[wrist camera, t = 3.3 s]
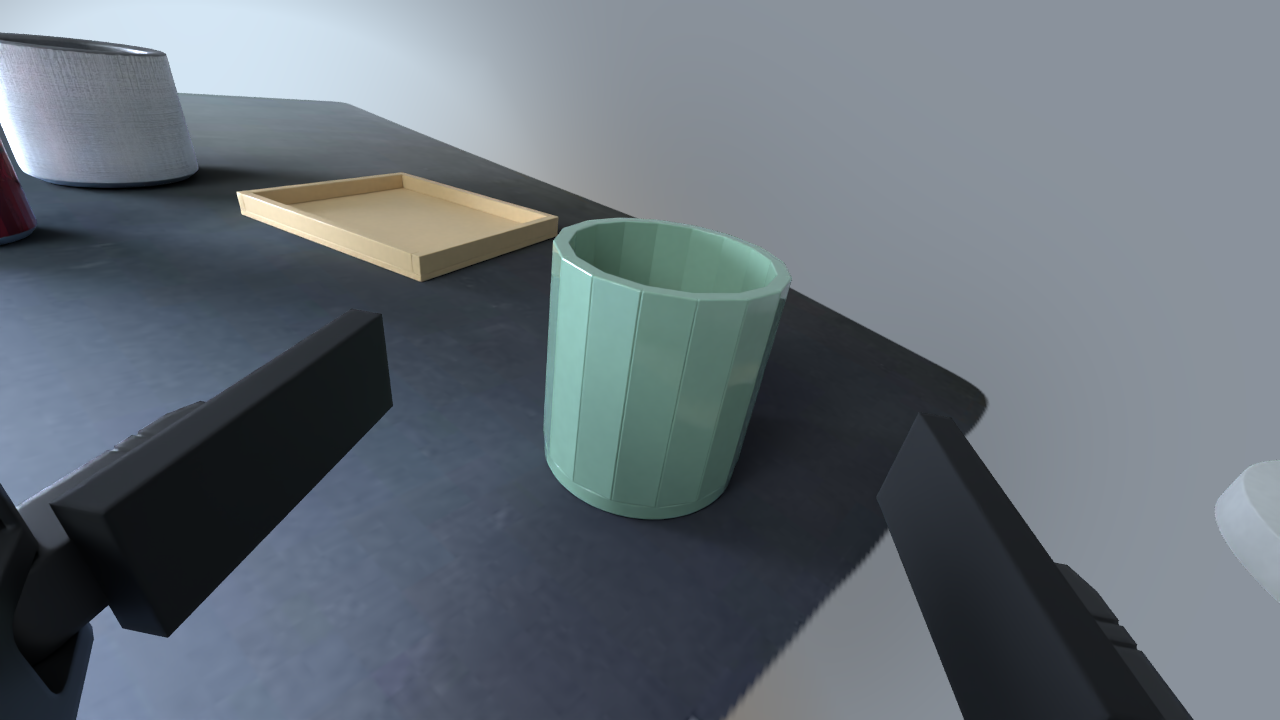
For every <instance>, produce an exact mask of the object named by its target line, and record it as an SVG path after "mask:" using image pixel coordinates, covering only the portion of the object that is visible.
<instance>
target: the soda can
mask: <svg viewBox="0 0 1280 720" xmlns="http://www.w3.org/2000/svg"><path fill="white" fill-rule="evenodd" d="M36 226H37V220H36V217H35V215H34V213H33V211H32V208H31V206H30V204H29V202H28V199H27V197H26V195H25V193H24V191H23V188H22V186H21V184H20V182H19V179H18V177H17V175H16V173H15V170H14V168H13V166H12V164H11V161H10V159H9V157H8V155H7V153H6V150H5V148H4V146H3V144H2V141H1V139H0V245H2V244H7V243H10V242H14V241H17V240H20V239H23V238H25V237H27V236H28V235H30V234H31V233H32V232H33V230H34V229H35V227H36Z"/></svg>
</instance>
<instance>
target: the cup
mask: <svg viewBox="0 0 1280 720" xmlns="http://www.w3.org/2000/svg"><path fill="white" fill-rule="evenodd" d="M791 281H792V277H791V275H790V273H789V271H788V269H787V267H786V265H785V263H783V262H782V261H781V260H779V259H778V258H776V257H775V256H773V255H772V254H770V253H769V252H767V251H766V250H764V249H763V248H761V247H759V246H756V245H754V244H752V243H749V242H746V241H744V240H742V239H739V238H737V237H734V236H732V235H729V234H725V233H722V232H718V231H714V230H710V229H706V228H703V227H699V226H694V225H689V224H682V223H676V222H670V221H663V220H654V219H636V218H610V219H598V220H588V221H584V222H581V223H578V224H575V225H572V226H569V227H565V228H563V229H562V230H561V232H560V233H559V234H558V235H557V237H556V238H555V239H554V240H553V254H552V273H551V293H550V312H549V331H548V351H547V370H546V389H545V409H544V428H543V432H544V436H545V445H544V449H545V456H546V459H547V462H548V465H549V467H550V469H551V471H552V472H553V474H554V476H555V477H556V478H557V479H558V481H559V482H560V483H561V484H562V485H563V486H564V487H565V488H566V489H567V490H568V491H569V492H571V493H572V494H573V495H575V496H576V497H577V498H579V499H581V500H582V501H584V502H586V503H588V504H589V505H591V506H594V507H596V508H598V509H601V510H603V511H606V512H609V513H612V514H615V515H620V516H624V517H629V518H637V519H669V518H676V517H680V516H685V515H688V514H691V513H694V512H696V511H699V510H701V509H703V508H704V507H706V506H708V505H709V504H711V503H712V502H714V501H715V500H716V499H717V498H718V497H719V496H720V495H721V494H722V493H723V492H724V490H725V489H726V487H727V486H728V484H729V481H730V479H731V476H732V473H733V470H734V467H735V465H736V464H737V461H738V458H739V455H740V451H741V448H742V445H743V441H744V438H745V435H746V431H747V428H748V425H749V421H750V418H751V415H752V411H753V408H754V405H755V401H756V398H757V394H758V391H759V388H760V384H761V381H762V378H763V374H764V371H765V368H766V364H767V361H768V358H769V354H770V351H771V348H772V344H773V341H774V338H775V334H776V331H777V327H778V324H779V321H780V317H781V314H782V311H783V307H784V304H785V301H786V297H787V294H788V291H789V287H790V284H791Z"/></svg>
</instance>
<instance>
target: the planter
mask: <svg viewBox="0 0 1280 720" xmlns="http://www.w3.org/2000/svg"><path fill="white" fill-rule="evenodd" d="M0 122H1V125H2V127H3V130H4V132H5V134H6V137H7V139H8V142H9V144H10V146H11V149H12V151H13V153H14V156H15V158H16V160H17V163H18V164H19V166H20V168H21V169H22V171H23V172H25V173H27V174H29V175H31V176H33V177H35V178H38V179H40V180H43V181H45V182H49V183H54V184H59V185H67V186H76V187H94V188H129V187H145V186H156V185H163V184H169V183H175V182H179V181H182V180H185V179H187V178H189V177H190V176H192V175H193V174H194V173H195V172H196V171H197V170H198V161H197V158H196V154H195V151H194V147H193V144H192V141H191V137H190V134H189V131H188V127H187V124H186V121H185V117H184V114H183V111H182V107H181V104H180V101H179V97H178V94H177V90H176V87H175V83H174V80H173V76H172V73H171V70H170V66H169V62H168V59H167V56H166V54H165V53H163V52H161V51H157V50H153V49H148V48H143V47H137V46H130V45H123V44H115V43H107V42H99V41H91V40H82V39H73V38H63V37H51V36H40V35H29V34H28V35H27V34H15V33H0Z"/></svg>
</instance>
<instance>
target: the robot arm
mask: <svg viewBox="0 0 1280 720" xmlns="http://www.w3.org/2000/svg"><path fill="white" fill-rule="evenodd" d="M392 406H393V402H392V394H391V386H390V378H389V369H388V361H387V353H386V344H385V336H384V328H383V319H382V314H379V313H373V312H368V311H362V310H357V309H350V310H349V311H347V312H346V313H344V314H343V315H341V316H339V317H338V318H336V319H335V320H333V321H332V322H330V323H329V324H327V325H325V326H324V327H322V328H321V329H319V330H318V331H316V332H315V333H313V334H311V335H310V336H308V337H307V338H305V339H304V340H302V341H300V342H299V343H297V344H296V345H294V346H293V347H291V348H290V349H288V350H286V351H285V352H283V353H282V354H280V355H279V356H277V357H276V358H274V359H272V360H271V361H269V362H268V363H266V364H265V365H263V366H262V367H260V368H258V369H257V370H255V371H254V372H252V373H251V374H249V375H248V376H246V377H244V378H243V379H241V380H240V381H238V382H237V383H235V384H234V385H232V386H230V387H229V388H227V389H226V390H224V391H223V392H221V393H219V394H218V395H216V396H215V397H213V398H212V399H210V400H209V401H207V402H204V401H199V402H196V403H194V404H191V405H188V406H186V407H183V408H181V409H178V410H175V411H173V412H170V413H167V414H165V415H164V416H162V417H161V418H159V419H157V420H156V421H154V422H152V423H151V424H149V425H148V426H146V427H144V428H143V429H141V430H139V431H138V434H137V435H136V436H135V435H131V436H130V437H128V438H127V439H125V440H123V441H122V442H120V443H118V444H117V445H115V446H114V449H113V450H112V451H111V450H107V451H105V452H104V453H102V454H101V455H99V456H97V457H96V458H94V459H92V460H91V461H89V462H88V463H86V464H84V465H83V466H81V467H79V468H78V469H76V470H75V471H73V472H71V473H70V474H68V475H67V476H65V477H63V478H62V479H60V480H58V481H57V482H55V483H54V484H52V485H50V486H49V487H47V488H45V489H44V490H42V491H41V492H39V493H37V494H36V495H34V496H32V497H31V498H29V499H28V500H26V501H24V502H23V503H21V504H19V505H18V506H16V507H15V506H14V504H13V502H12V501H11V499H10V498H9V496H8V495H7V493H6V491H5V490H4V488H3V487H2V485H1V484H0V720H76V717H77V712H78V708H79V703H80V699H81V694H82V690H83V685H84V681H85V676H86V672H87V667H88V662H89V658H90V653H91V649H92V644H93V640H94V637H93V629H92V626H91V624H90V623H89V622H90V621H91V620H92V619H93V618H94V617H95V616H96V615H98V614H99V613H100V612H101V611H102V610H103V609H104V608H106V607H107V606H108V605H109V606H110V608H111V610H112V611H113V613H114V615H115V616H116V618H117V620H118V622H119V623H120V625H121V627H122V628H124V629H129V630H134V631H138V632H143V633H148V634H153V635H157V636H162V637H167V638H168V637H169V636H170V635H171V634H172V633H173V632H174V631H175V630H176V629H177V628H178V627H179V626H180V625H181V624H182V623H183V622H184V621H185V620H186V619H187V618H188V617H189V616H190V615H191V613H192V612H193V611H194V610H195V609H196V608H197V607H198V606H199V605H200V604H201V603H202V602H203V601H204V600H205V599H206V598H207V597H208V596H209V595H210V594H211V593H212V592H213V591H214V590H215V589H216V588H217V587H218V586H219V585H220V584H221V583H222V582H223V580H224V579H225V578H226V577H227V576H228V575H229V574H230V573H231V572H232V571H233V570H234V569H235V568H236V567H237V566H238V565H239V564H240V563H241V562H242V561H243V560H244V559H245V558H246V557H247V556H248V555H249V554H250V553H251V552H252V551H253V550H254V549H255V548H256V546H257V545H258V544H259V543H260V542H261V541H262V540H263V539H264V538H265V537H266V536H267V535H268V534H269V533H270V532H271V531H272V530H273V529H274V528H275V527H276V526H277V525H278V524H279V523H280V522H281V521H282V520H283V519H284V518H285V517H286V516H287V515H288V513H289V512H290V511H291V510H292V509H293V508H294V507H295V506H296V505H297V504H298V503H299V502H300V501H301V500H302V499H303V498H304V497H305V496H306V495H307V494H308V493H309V492H310V491H311V490H312V489H313V488H314V487H315V486H316V485H317V484H318V483H319V482H320V480H321V479H322V478H323V477H324V476H325V475H326V474H327V473H328V472H329V471H330V470H331V469H332V468H333V467H334V466H335V465H336V464H337V463H338V462H339V461H340V460H341V459H342V458H343V457H344V456H345V455H346V454H347V453H348V452H349V451H350V450H351V449H352V447H353V446H354V445H355V444H356V443H357V442H358V441H359V440H360V439H361V438H362V437H363V436H364V435H365V434H366V433H367V432H368V431H369V430H370V429H371V428H372V427H373V426H374V425H375V424H376V423H377V422H378V421H379V420H380V419H381V418H382V417H383V416H384V415H385V413H386V412H387V411H388V410H389V409H390V408H391V407H392ZM876 498H877V500H878V503H879V505H880V508H881V510H882V513H883V515H884V518H885V520H886V523H887V526H888V528H889V531H890V533H891V536H892V538H893V541H894V543H895V546H896V548H897V551H898V553H899V556H900V558H901V561H902V563H903V566H904V568H905V571H906V574H907V576H908V579H909V581H910V583H911V586H912V589H913V591H914V594H915V596H916V599H917V601H918V604H919V606H920V609H921V612H922V614H923V617H924V619H925V621H926V624H927V627H928V629H929V632H930V634H931V637H932V639H933V642H934V644H935V647H936V649H937V652H938V654H939V657H940V660H941V662H942V665H943V667H944V670H945V672H946V674H947V677H948V680H949V682H950V685H951V687H952V690H953V692H954V695H955V697H956V700H957V702H958V705H959V708H960V710H961V713H962V715H963V717H964V720H1193V718H1192V717H1191V716H1190V714H1189V713H1188V712H1187V711H1186V709H1185V708H1184V706H1183V705H1182V704H1181V702H1180V701H1179V700H1178V699H1177V697H1176V696H1175V694H1174V693H1173V692H1172V690H1171V689H1170V688H1169V687H1168V685H1167V684H1166V683H1165V681H1164V680H1163V679H1162V677H1161V676H1160V675H1159V673H1158V672H1157V671H1156V669H1155V668H1154V667H1153V666H1152V664H1151V663H1150V661H1149V660H1148V659H1147V657H1146V656H1145V655H1144V653H1143V652H1142V651H1139V650H1137V647H1136V646H1137V644H1136V643H1135V641H1134V640H1133V639H1132V637H1131V636H1130V635H1129V633H1128V632H1127V631H1126V629H1125V628H1124V627H1123V626H1119V624H1118V621H1119V620H1118V619H1117V618H1116V616H1115V615H1114V613H1113V612H1112V611H1111V610H1110V609H1109V607H1108V606H1107V604H1106V603H1105V602H1104V600H1103V599H1102V597H1101V596H1100V595H1099V594H1098V592H1097V591H1096V590H1095V589H1093V588H1092V587H1091V586H1090V585H1089V584H1088V583H1087V582H1086V581H1085V580H1083V579H1082V578H1081V577H1080V576H1079V575H1078V574H1077V573H1076V572H1075V571H1073V570H1072V569H1071V568H1070V567H1069V566H1068V565H1064V564H1059V563H1054V562H1053V560H1052V559H1051V557H1050V556H1049V555H1048V553H1047V552H1046V550H1045V549H1044V548H1043V546H1042V545H1041V543H1040V542H1039V541H1038V539H1037V538H1036V536H1035V535H1034V534H1033V532H1032V531H1031V529H1030V528H1029V526H1028V525H1027V524H1026V522H1025V521H1024V519H1023V518H1022V517H1021V515H1020V514H1019V512H1018V511H1017V509H1016V508H1015V507H1014V505H1013V504H1012V502H1011V501H1010V500H1009V498H1008V497H1007V495H1006V494H1005V493H1004V491H1003V490H1002V488H1001V487H1000V485H999V484H998V483H997V481H996V480H995V479H994V477H993V476H992V474H991V473H990V471H989V470H988V469H987V467H986V466H985V464H984V463H983V461H982V460H981V459H980V457H979V456H978V455H977V453H976V452H975V450H974V449H973V447H972V446H971V445H970V443H969V442H968V440H967V439H966V438H965V436H964V435H963V433H962V432H961V430H960V429H959V428H958V426H957V425H956V423H955V422H954V421H953V419H952V418H949V417H944V416H938V415H933V414H927V413H922V412H919V413H918V415H917V417H916V419H915V421H914V423H913V425H912V427H911V429H910V431H909V433H908V435H907V437H906V439H905V441H904V443H903V445H902V447H901V449H900V451H899V453H898V455H897V457H896V459H895V461H894V463H893V465H892V467H891V469H890V471H889V473H888V475H887V477H886V479H885V481H884V483H883V485H882V487H881V489H880V491H879V493H878V495H877V497H876Z"/></svg>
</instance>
